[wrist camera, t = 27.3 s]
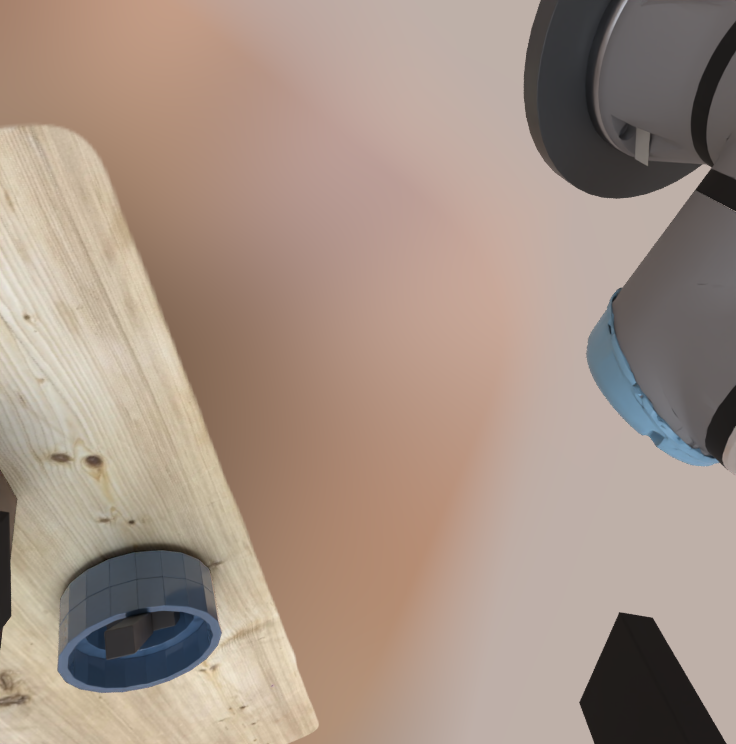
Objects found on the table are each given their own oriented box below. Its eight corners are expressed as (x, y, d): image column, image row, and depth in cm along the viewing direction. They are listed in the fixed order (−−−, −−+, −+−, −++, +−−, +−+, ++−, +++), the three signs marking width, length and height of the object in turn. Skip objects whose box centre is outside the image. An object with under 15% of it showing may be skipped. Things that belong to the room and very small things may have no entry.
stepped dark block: (73, 638, 40) (75, 667, 39) (161, 618, 41) (164, 646, 41) (119, 614, 59) (121, 633, 59) (178, 601, 61) (180, 620, 60)
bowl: (198, 527, 56) (208, 588, 51) (219, 603, 65) (229, 661, 60) (39, 569, 53) (34, 639, 48) (84, 643, 61) (84, 708, 57)
